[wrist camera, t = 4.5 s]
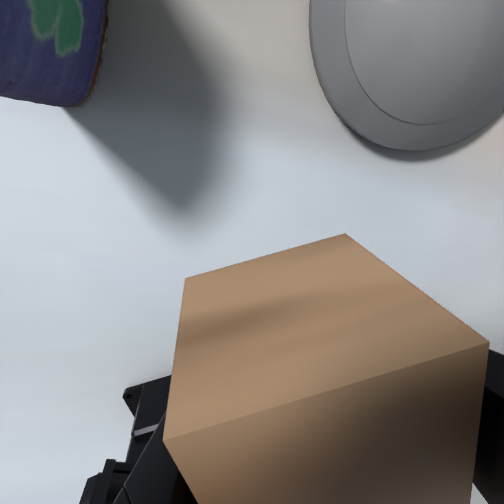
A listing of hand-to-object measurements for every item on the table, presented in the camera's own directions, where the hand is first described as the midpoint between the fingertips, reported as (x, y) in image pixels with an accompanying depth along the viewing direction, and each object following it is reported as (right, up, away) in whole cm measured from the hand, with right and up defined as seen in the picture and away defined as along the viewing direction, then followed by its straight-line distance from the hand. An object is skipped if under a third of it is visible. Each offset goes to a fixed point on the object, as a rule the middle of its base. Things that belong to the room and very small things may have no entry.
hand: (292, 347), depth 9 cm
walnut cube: (0, +1, +1) cm, 1 cm away
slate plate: (+9, +16, +7) cm, 19 cm away
